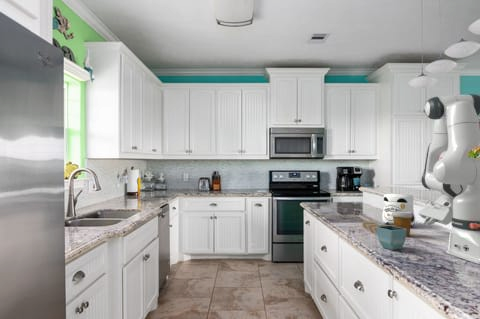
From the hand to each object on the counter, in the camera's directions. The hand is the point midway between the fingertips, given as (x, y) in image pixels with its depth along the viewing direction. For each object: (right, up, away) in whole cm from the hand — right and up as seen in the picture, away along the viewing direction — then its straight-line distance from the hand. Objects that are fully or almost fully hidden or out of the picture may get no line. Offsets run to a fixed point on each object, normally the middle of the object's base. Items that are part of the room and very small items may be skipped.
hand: (424, 225), depth 157 cm
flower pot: (-29, -5, -23) cm, 37 cm away
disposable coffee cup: (-12, -5, 0) cm, 13 cm away
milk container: (-1, -5, +25) cm, 25 cm away
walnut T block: (-16, -5, +9) cm, 19 cm away
